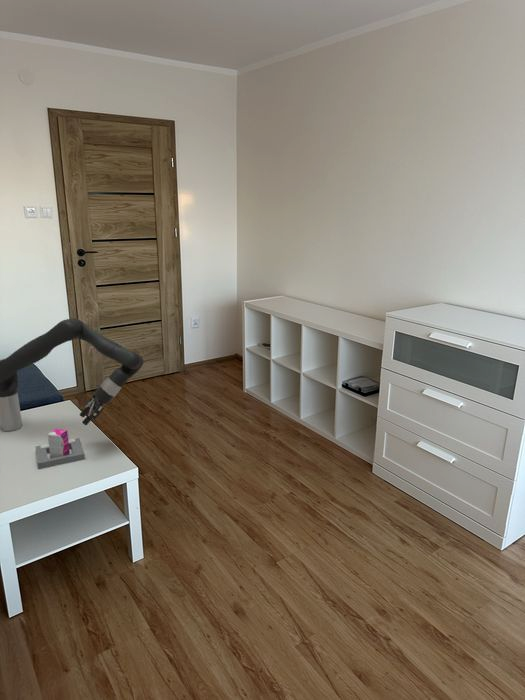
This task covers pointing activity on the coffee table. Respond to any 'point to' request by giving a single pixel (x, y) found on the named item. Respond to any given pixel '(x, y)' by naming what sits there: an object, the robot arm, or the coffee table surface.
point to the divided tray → (45, 462)
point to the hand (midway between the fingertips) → (82, 420)
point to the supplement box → (58, 443)
